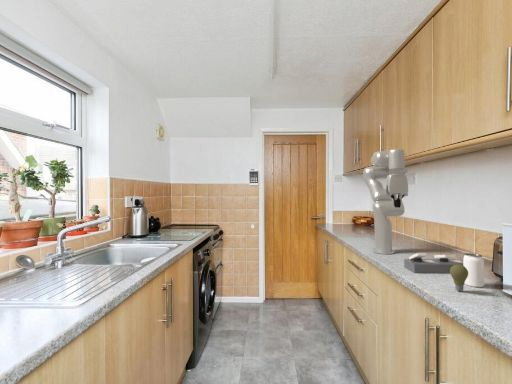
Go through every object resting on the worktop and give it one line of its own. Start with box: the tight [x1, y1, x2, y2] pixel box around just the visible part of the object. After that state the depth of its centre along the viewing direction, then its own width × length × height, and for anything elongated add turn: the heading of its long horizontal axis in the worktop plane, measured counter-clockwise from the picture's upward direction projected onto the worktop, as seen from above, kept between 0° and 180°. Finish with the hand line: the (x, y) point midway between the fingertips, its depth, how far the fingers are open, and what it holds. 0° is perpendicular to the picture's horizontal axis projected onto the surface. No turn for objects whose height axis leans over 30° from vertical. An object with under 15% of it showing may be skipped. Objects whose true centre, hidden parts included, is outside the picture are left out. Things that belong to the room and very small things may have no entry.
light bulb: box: [449, 264, 468, 292], centre depth 104 cm, size 6×6×10 cm
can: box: [462, 252, 485, 289], centre depth 110 cm, size 6×6×12 cm
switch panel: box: [403, 258, 463, 274], centre depth 131 cm, size 10×24×6 cm, turn 86°
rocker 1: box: [408, 252, 428, 260], centre depth 132 cm, size 9×4×1 cm, turn 176°
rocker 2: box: [433, 254, 455, 259], centre depth 131 cm, size 9×4×1 cm, turn 176°
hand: (397, 207), depth 146 cm, fingers closed
